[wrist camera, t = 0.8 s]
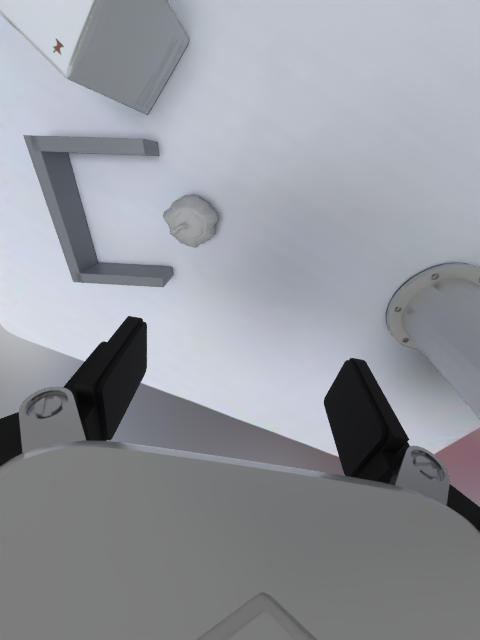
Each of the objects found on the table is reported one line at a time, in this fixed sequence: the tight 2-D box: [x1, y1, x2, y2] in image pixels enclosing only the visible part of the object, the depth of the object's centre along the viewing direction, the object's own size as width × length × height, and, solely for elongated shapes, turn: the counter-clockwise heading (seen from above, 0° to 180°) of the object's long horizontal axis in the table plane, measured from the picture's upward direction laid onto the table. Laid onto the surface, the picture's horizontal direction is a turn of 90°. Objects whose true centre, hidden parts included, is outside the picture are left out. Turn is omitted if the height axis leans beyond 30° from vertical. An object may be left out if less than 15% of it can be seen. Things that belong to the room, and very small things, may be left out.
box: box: [23, 135, 173, 287], centre depth 29 cm, size 11×15×4 cm
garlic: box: [163, 195, 218, 248], centre depth 28 cm, size 6×5×5 cm
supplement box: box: [0, 0, 189, 115], centre depth 18 cm, size 7×7×13 cm
